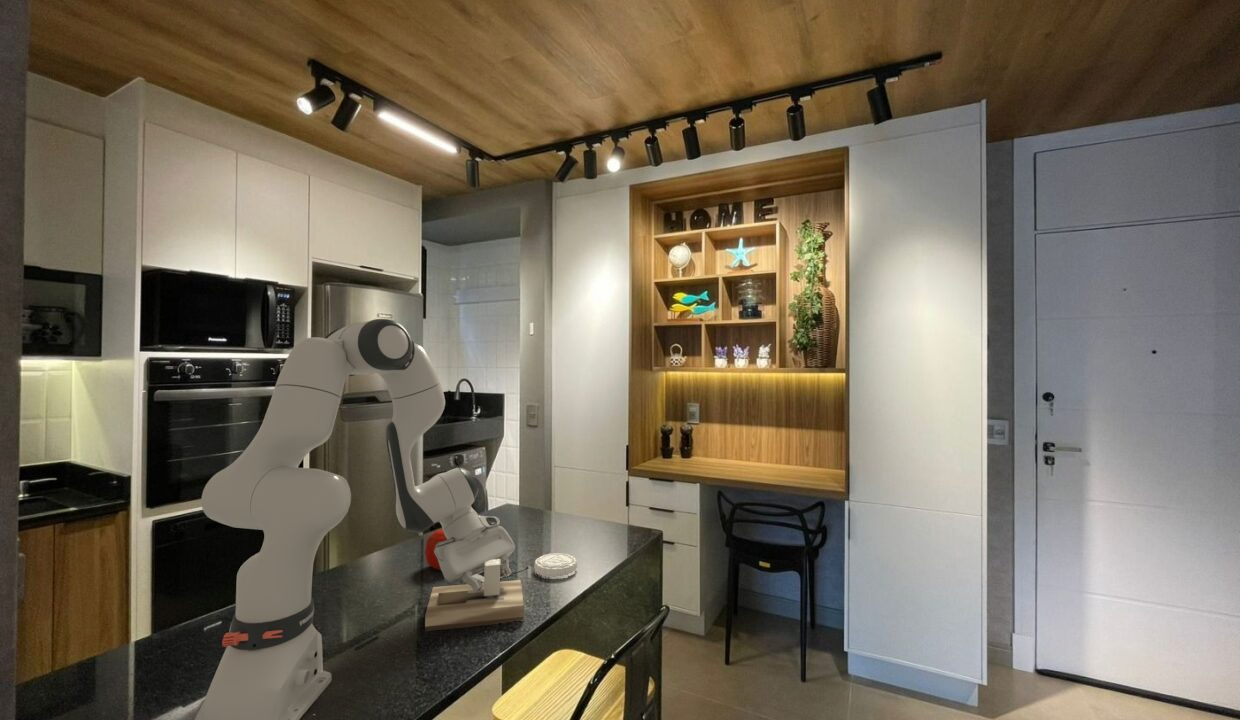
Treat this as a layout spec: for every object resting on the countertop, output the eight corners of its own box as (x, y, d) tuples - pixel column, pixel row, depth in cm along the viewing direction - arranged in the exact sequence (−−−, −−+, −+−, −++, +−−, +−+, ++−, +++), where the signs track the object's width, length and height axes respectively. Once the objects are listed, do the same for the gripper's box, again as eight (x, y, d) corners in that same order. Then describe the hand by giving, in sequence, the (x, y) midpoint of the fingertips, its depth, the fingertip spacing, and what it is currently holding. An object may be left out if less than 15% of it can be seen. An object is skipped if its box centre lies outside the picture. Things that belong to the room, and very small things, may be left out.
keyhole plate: (523, 621, 114) (523, 605, 114) (424, 631, 109) (425, 614, 109) (520, 594, 128) (520, 579, 128) (432, 602, 123) (433, 587, 123)
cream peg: (502, 609, 117) (503, 565, 118) (480, 611, 116) (481, 566, 116) (501, 600, 122) (502, 557, 122) (481, 601, 121) (482, 559, 121)
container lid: (558, 584, 135) (558, 570, 135) (525, 574, 141) (525, 561, 141) (585, 569, 145) (585, 557, 145) (553, 560, 151) (553, 548, 151)
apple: (443, 558, 151) (444, 519, 151) (469, 564, 146) (470, 524, 147) (416, 570, 142) (417, 528, 142) (443, 577, 137) (444, 534, 138)
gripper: (437, 537, 114) (466, 591, 109) (502, 515, 132) (530, 561, 126) (424, 553, 116) (452, 606, 111) (489, 529, 134) (516, 575, 129)
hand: (494, 582), depth 119 cm, fingers open, 8 cm apart
